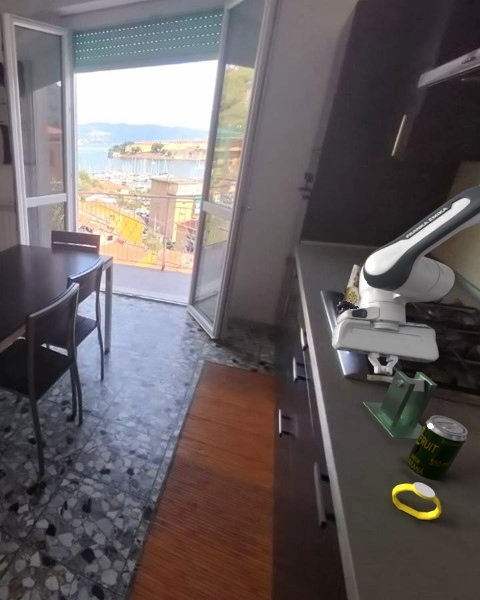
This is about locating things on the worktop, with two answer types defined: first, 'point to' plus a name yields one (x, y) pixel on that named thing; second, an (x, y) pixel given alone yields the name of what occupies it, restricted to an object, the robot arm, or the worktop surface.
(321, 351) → the worktop surface
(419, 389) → the lever
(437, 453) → the green drink can
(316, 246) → the worktop surface
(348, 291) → the coffee box
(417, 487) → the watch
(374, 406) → the bracket
